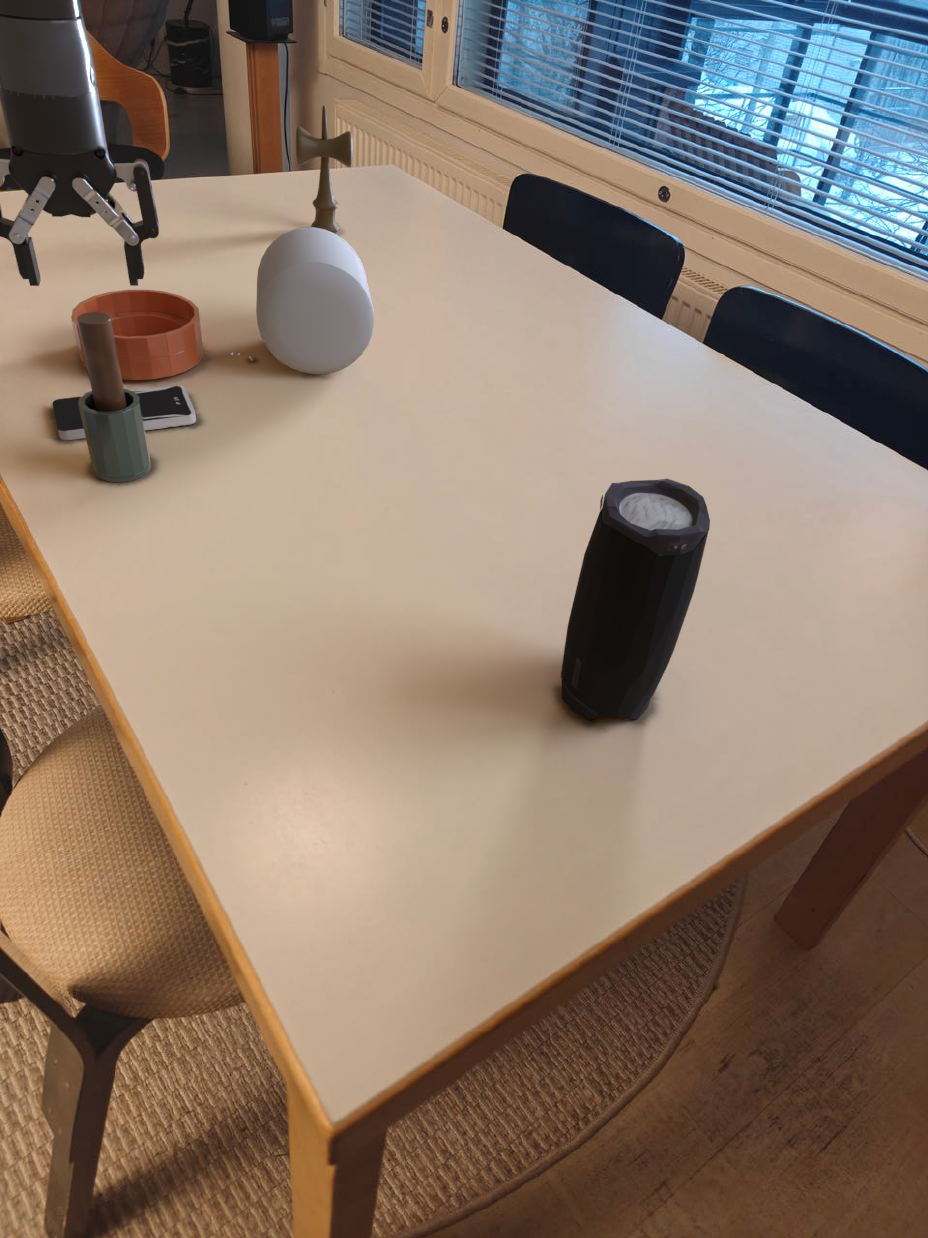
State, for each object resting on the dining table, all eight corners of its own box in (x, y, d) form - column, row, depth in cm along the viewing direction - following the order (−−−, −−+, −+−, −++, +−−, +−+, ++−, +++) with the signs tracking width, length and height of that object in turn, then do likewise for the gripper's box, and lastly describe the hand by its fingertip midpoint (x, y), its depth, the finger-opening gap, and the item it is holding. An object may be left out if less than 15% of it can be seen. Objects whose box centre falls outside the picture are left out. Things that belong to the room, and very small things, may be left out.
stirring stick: (106, 471, 91) (75, 324, 81) (107, 456, 93) (77, 311, 83) (136, 469, 92) (110, 323, 81) (137, 454, 94) (111, 311, 84)
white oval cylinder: (204, 337, 108) (239, 242, 124) (288, 417, 117) (310, 318, 133) (314, 252, 99) (336, 161, 115) (395, 344, 108) (405, 249, 124)
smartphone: (51, 399, 100) (183, 384, 105) (54, 410, 101) (185, 394, 106) (57, 431, 95) (196, 414, 100) (60, 442, 96) (197, 424, 101)
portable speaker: (628, 651, 78) (685, 465, 66) (670, 728, 72) (743, 538, 59) (539, 660, 76) (581, 470, 63) (574, 740, 70) (628, 546, 57)
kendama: (299, 224, 157) (294, 99, 144) (351, 226, 159) (352, 103, 146) (298, 235, 153) (294, 107, 140) (353, 237, 154) (353, 111, 141)
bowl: (77, 386, 105) (67, 339, 101) (84, 334, 116) (75, 289, 112) (206, 382, 109) (201, 336, 105) (201, 331, 120) (196, 288, 116)
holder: (92, 484, 90) (76, 415, 85) (95, 455, 94) (80, 387, 89) (150, 481, 92) (138, 413, 86) (150, 452, 96) (139, 385, 91)
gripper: (141, 76, 74) (165, 268, 84) (-44, 64, 70) (6, 267, 81) (140, 95, 68) (166, 298, 79) (-61, 84, 65) (-5, 298, 75)
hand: (85, 282), depth 80 cm, fingers open, 8 cm apart
